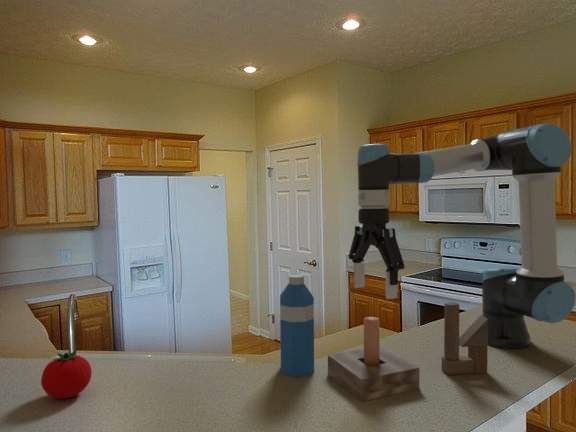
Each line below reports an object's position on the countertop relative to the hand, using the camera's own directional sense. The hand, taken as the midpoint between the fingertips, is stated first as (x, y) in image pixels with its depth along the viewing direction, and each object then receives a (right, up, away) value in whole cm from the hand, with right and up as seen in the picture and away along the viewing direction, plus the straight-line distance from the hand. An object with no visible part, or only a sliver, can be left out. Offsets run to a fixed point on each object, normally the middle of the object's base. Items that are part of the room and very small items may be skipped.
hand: (374, 292), depth 105 cm
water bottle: (-19, -22, +7) cm, 30 cm away
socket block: (-1, -22, -1) cm, 22 cm away
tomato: (-73, -23, -7) cm, 77 cm away
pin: (-1, -20, -1) cm, 20 cm away
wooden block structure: (+24, -22, +4) cm, 33 cm away
